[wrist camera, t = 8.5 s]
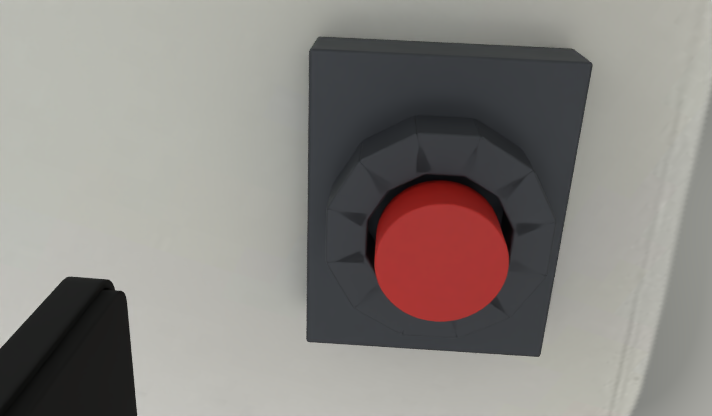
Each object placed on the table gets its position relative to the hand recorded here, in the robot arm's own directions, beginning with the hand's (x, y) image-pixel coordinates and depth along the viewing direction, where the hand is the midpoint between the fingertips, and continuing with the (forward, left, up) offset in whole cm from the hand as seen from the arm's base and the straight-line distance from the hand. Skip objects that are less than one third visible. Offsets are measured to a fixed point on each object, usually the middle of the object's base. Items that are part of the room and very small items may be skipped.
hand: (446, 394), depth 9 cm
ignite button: (+1, +2, -10) cm, 10 cm away
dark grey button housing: (+1, +2, -14) cm, 14 cm away
